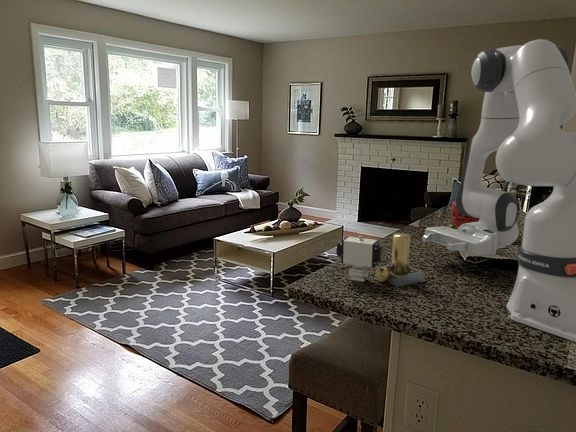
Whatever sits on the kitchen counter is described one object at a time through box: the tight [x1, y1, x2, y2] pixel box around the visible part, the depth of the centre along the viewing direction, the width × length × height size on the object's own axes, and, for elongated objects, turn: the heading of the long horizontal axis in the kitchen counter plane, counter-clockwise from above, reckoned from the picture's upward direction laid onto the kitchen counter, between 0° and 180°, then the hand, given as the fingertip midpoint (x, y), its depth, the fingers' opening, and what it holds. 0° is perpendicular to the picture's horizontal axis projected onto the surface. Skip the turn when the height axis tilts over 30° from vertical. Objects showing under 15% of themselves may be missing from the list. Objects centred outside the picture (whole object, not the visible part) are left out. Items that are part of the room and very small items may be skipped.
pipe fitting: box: [391, 232, 411, 276], centre depth 117 cm, size 5×5×12 cm
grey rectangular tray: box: [375, 264, 426, 287], centre depth 118 cm, size 9×11×4 cm
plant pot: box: [451, 201, 480, 227], centre depth 166 cm, size 13×13×12 cm
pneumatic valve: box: [335, 235, 386, 283], centre depth 117 cm, size 6×12×12 cm, turn 63°
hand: (436, 243), depth 124 cm, fingers open, 8 cm apart
